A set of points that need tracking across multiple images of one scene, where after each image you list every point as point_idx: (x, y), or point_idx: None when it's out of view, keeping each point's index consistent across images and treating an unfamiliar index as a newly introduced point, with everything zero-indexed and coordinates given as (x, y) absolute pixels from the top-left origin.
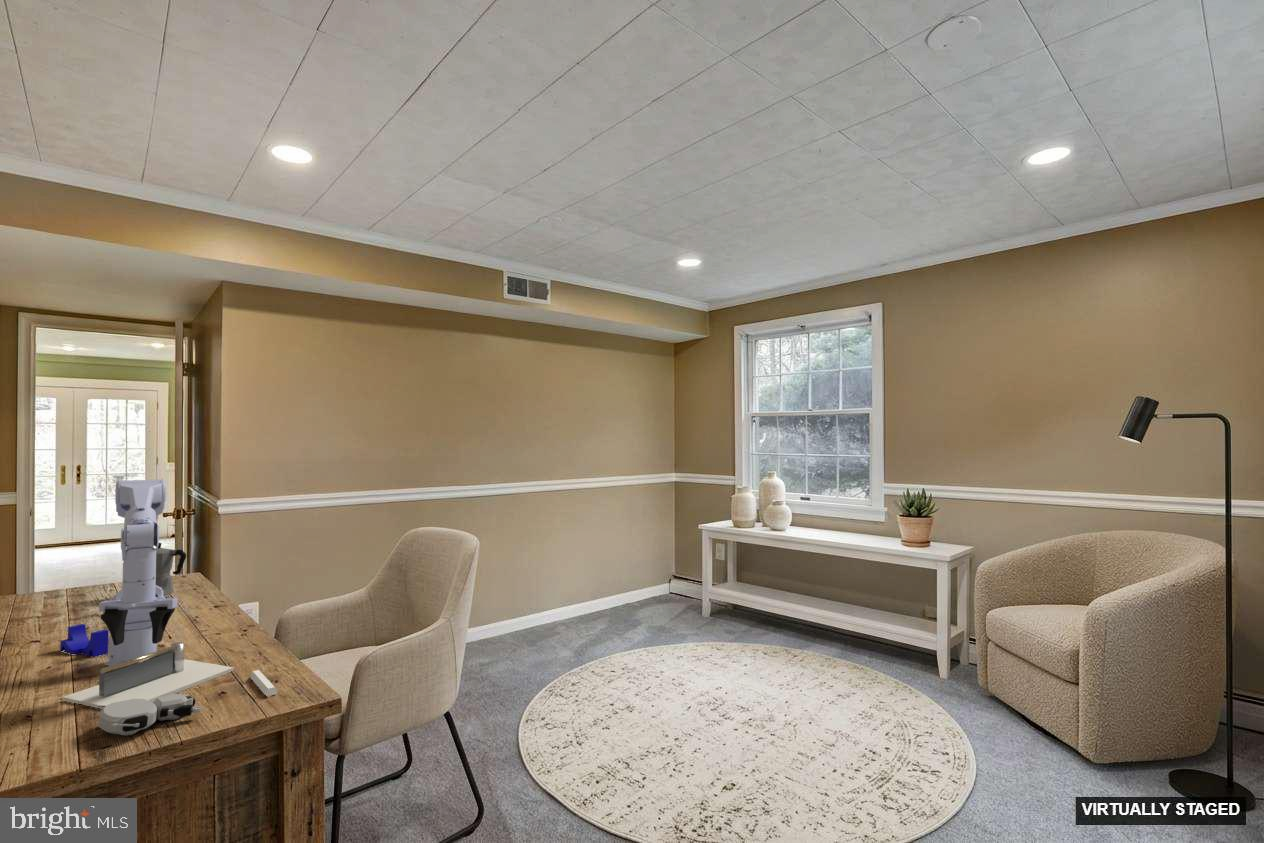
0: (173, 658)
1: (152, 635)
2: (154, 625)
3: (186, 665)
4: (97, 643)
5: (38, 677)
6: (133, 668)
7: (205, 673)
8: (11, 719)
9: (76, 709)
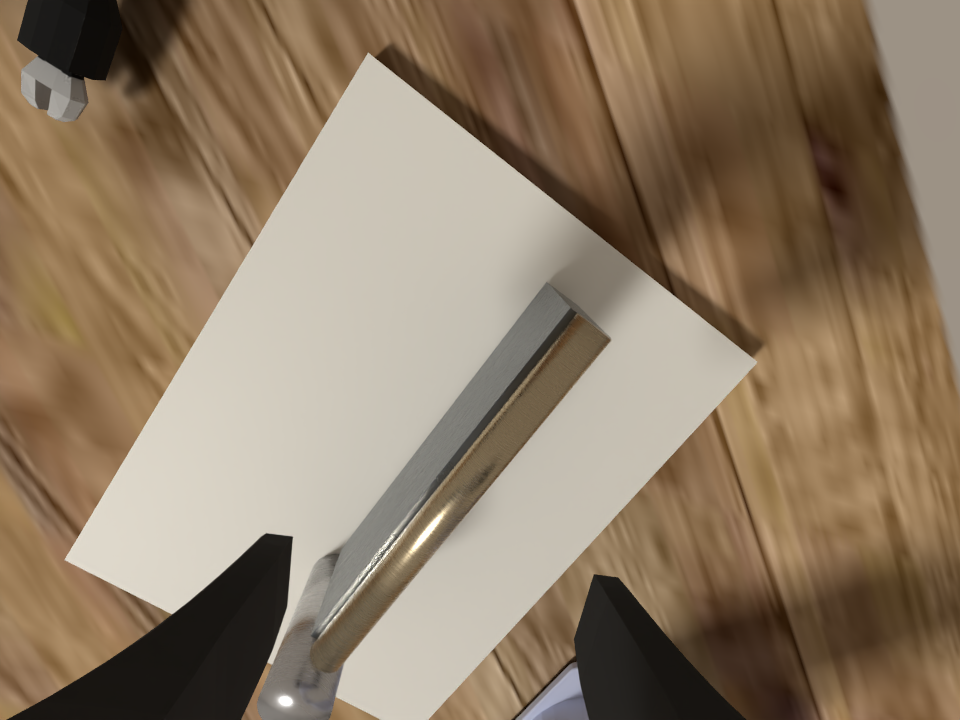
0: None
1: (255, 579)
2: (160, 664)
3: None
4: None
5: (928, 670)
6: (454, 442)
7: (172, 509)
8: (902, 166)
9: (640, 215)
